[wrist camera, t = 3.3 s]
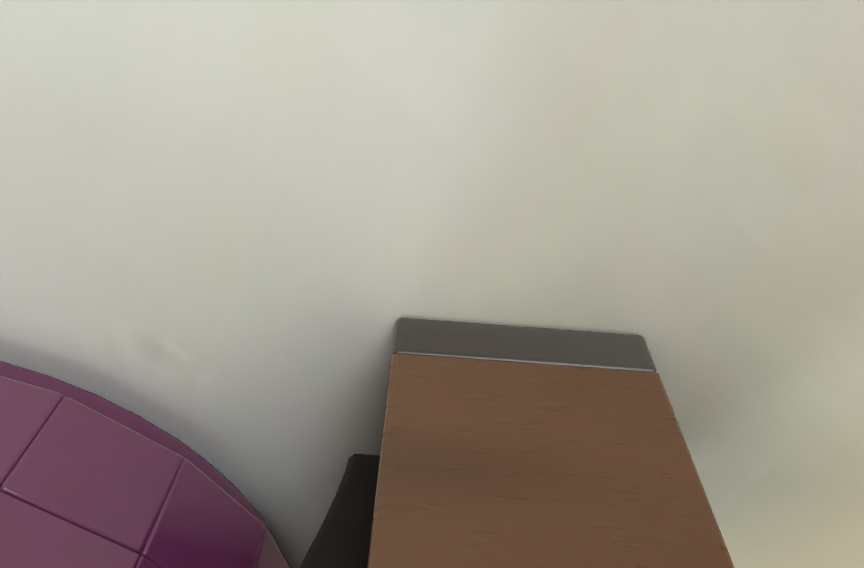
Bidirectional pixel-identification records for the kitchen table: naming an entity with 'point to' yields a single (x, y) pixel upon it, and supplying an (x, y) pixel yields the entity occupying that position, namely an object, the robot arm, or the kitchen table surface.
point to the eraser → (534, 455)
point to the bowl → (111, 489)
